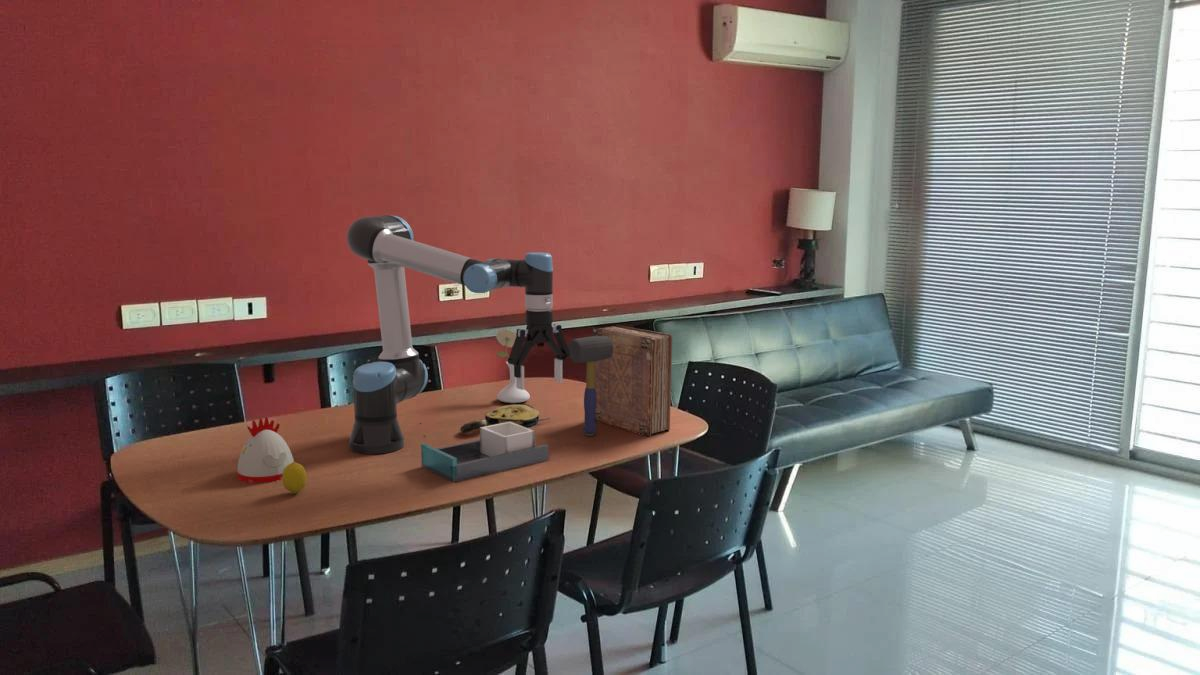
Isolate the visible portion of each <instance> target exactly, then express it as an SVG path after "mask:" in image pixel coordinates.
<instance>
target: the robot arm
mask: <svg viewBox="0 0 1200 675" xmlns="http://www.w3.org/2000/svg"><path fill="white" fill-rule="evenodd" d="M346 242H347V246H348V248H349V250H350V251H351V252H352V253H353V254H354V255H355V256H357V257H359V258H361V259H364V260H367V265H368V266H369V267H371V268H372V269H373V273H374V274H373V275H374V280H375V282H374V283H375V290H376V300H377V307H378V310H377V311H378V317H379V326H380V327H379V328H380V333H381V334H380V336H381V337H380V338H381V346H382V352H381V353H380V354H379V356H378V361H373V362H371V363H369V362H368V363H364V364H362V365H360V366H358V367H357V368H356V369H355V370H354V372H353V380H352V386H353V404H354V405H353V407H354V408H353V409H354V422H353V423H354V424H353V426H352V429H351V432H350V437H349V439H348V445H349V446H348V447H349V448H348V449H349V450H351V452H354V453H357V454H365V455H366V454H367V455H377V454H387V453H392V452H396V451H398V450H401V449H403V447H404V446H405V436H404V434H403V431H402V429H401V425H400V423H399V421H398V404H400V403H401V402H403V401H405V400H406V401H407V400H410V399H412V398H414V397H416V396H417V395H418V394H420V393H421V392H423V391H424V389H425V388H426V386H427V384H428V379H429V375H428V369H427V367H426V364H425V363H423V361H422V360H421V359H420V355H419V352H418V351H417V350H416V349H415V348H414V347H413V339H412V338H413V337H412V330H411V329H412V328H411V320H410V311H409V300H408V291H407V281H406V273H405V272H406V270H405V268H406V269H410V270H413V271H416V272H419V273H423V274H426V275H429V276H432V277H435V278H438V279H442V280H444V281H449V282H452V283H455V284H458V285H460V286H461V285H462V286H465V287H466V289H467V290H469V291H470V292H471V293H474V294H486V293H488V292H491V291H495V290H498V289H502V288H507V287H510V288H511V287H513V288H514V287H515V288H524V292H525V299H524V302H525V303H524V304H525V305H524V306H525V308H526V310H525V324H526V328H525V329H521V328H517V329H516V332H515V334H516V339H515V342H514V344H513V346H512V347H511V350H510V354H508V356H509V357H508V358H507V360H506V362H508V363H509V364H512V365H514V376H515V377H516V388H518V389H521V390H524V389H525V366H524V365H523V363H524V362H525V360H526V359H527V357H528V354H530V352H531V350H532V348H533V347H534V346H536V344H541V343H545V344H546V345H547V346H548V347H549V349H550V350H551V351H552V353H553V355H555V357H556V358H554V359H553V360H554V370H553V371H554V382H556V383H559V384H562V383H563V371H564V370H565V361H566V360H567V359H568V357H569V356H570V352H569V349H568V344H567V342H566V339H565V337H564V334H563V331H562V325H560V324H556V323H554V324H553V322H554V311H553V310H552V309H553V308H554V306H553V305H554V304H553V301H554V299H553V298H554V293H553V292H554V291H553V289H554V288H553V284H554V283H553V279H554V278H553V277H554V273H553V272H554V268H553V266H554V265H553V257H552V255H551V253H548V252H527V253H525V255H524V259H507V258H488V259H487V260H486V261H485V262H484V261H482V260H479V259H475V258H472V257H468V256H467V255H466V256H465V255H462V254H460V253H455V252H451V251H448V250H446V249H443V248H440V247H436V246H433V245H429V244H426V243H422V242H419V241H416V240H414V232H413V229H412V228H411V226H410V224H409V223H408V222H407V221H406V220H405V219H403V218H402V217H400V216H397V215H391V214H388V215H387V214H384V215H374V216H373V215H372V216H364V217H363V216H362V217H360V218H358V219H356V220H354V221H353V222H352V223H351V224H350V226H349V227H348V230H347V232H346ZM552 333H553V336H552V335H551V334H552ZM553 337H554V338H553Z"/></svg>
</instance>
